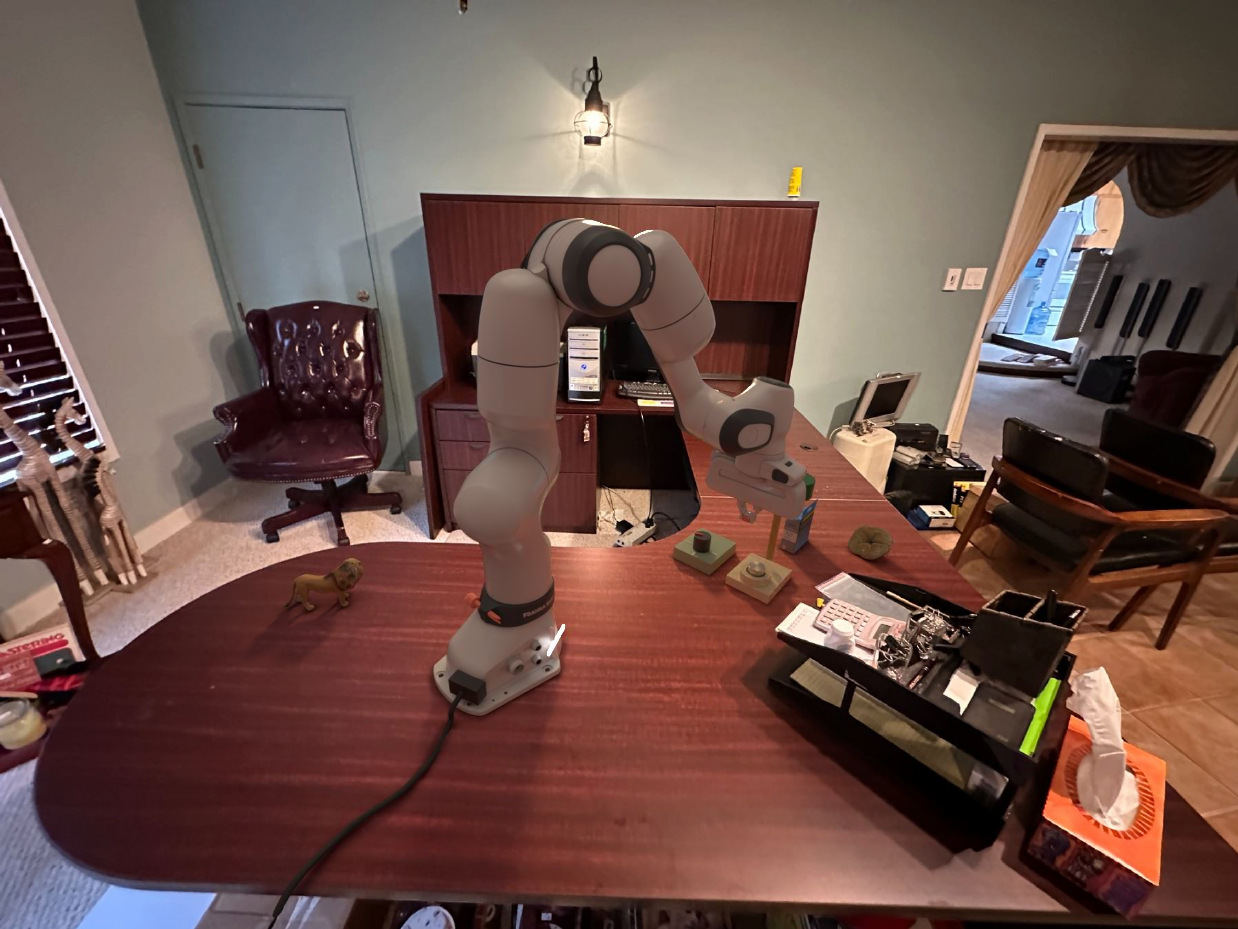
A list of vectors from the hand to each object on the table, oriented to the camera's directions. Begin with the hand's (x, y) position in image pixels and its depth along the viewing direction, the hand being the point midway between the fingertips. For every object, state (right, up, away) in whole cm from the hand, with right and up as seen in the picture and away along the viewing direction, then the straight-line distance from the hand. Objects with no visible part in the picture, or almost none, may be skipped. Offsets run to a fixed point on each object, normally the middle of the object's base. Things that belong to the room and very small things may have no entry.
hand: (747, 520), depth 102 cm
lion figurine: (-84, -16, -4) cm, 85 cm away
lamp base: (+4, -14, +8) cm, 17 cm away
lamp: (+11, -8, +12) cm, 18 cm away
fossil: (+35, -10, +20) cm, 41 cm away
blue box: (+17, -9, +22) cm, 29 cm away
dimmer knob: (-7, -8, +13) cm, 17 cm away
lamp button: (+3, -12, +5) cm, 13 cm away
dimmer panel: (-6, -10, +16) cm, 20 cm away
